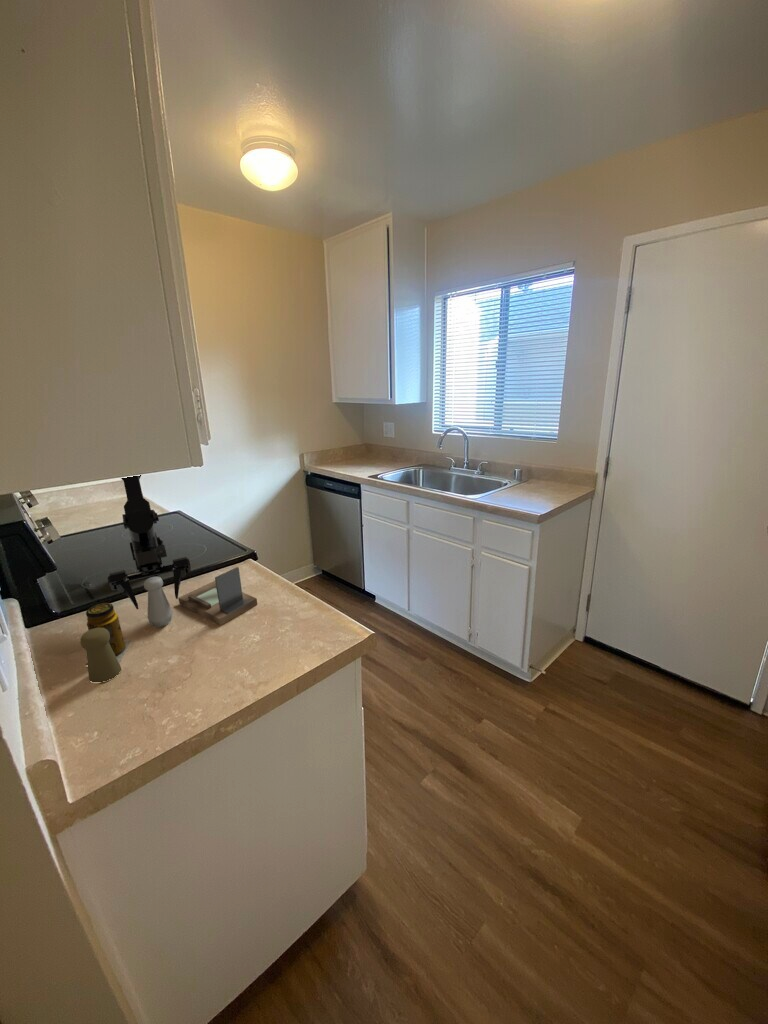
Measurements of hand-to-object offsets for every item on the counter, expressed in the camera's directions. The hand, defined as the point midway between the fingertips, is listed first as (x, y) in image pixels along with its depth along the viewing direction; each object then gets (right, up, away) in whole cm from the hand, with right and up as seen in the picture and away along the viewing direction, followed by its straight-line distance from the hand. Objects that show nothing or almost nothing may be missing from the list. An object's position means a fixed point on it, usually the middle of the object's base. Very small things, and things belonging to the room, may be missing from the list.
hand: (157, 603), depth 105 cm
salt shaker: (-1, -6, +3) cm, 7 cm away
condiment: (-7, -10, -8) cm, 15 cm away
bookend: (+17, -2, +7) cm, 19 cm away
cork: (-3, -12, -15) cm, 20 cm away
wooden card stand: (+11, -3, +12) cm, 16 cm away
